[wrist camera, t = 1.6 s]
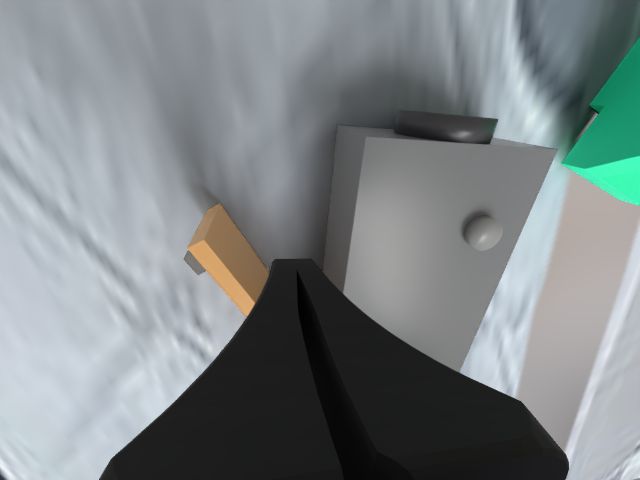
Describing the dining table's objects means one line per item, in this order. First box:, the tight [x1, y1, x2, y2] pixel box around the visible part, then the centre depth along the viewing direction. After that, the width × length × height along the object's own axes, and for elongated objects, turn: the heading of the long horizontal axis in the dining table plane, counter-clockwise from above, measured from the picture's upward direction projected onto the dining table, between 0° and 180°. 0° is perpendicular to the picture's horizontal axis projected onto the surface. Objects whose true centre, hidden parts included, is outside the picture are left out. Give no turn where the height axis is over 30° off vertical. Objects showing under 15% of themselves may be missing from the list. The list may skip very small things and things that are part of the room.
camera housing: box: [323, 110, 558, 372], centre depth 17 cm, size 17×9×6 cm, turn 175°
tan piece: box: [184, 203, 269, 317], centre depth 17 cm, size 13×2×4 cm, turn 26°
